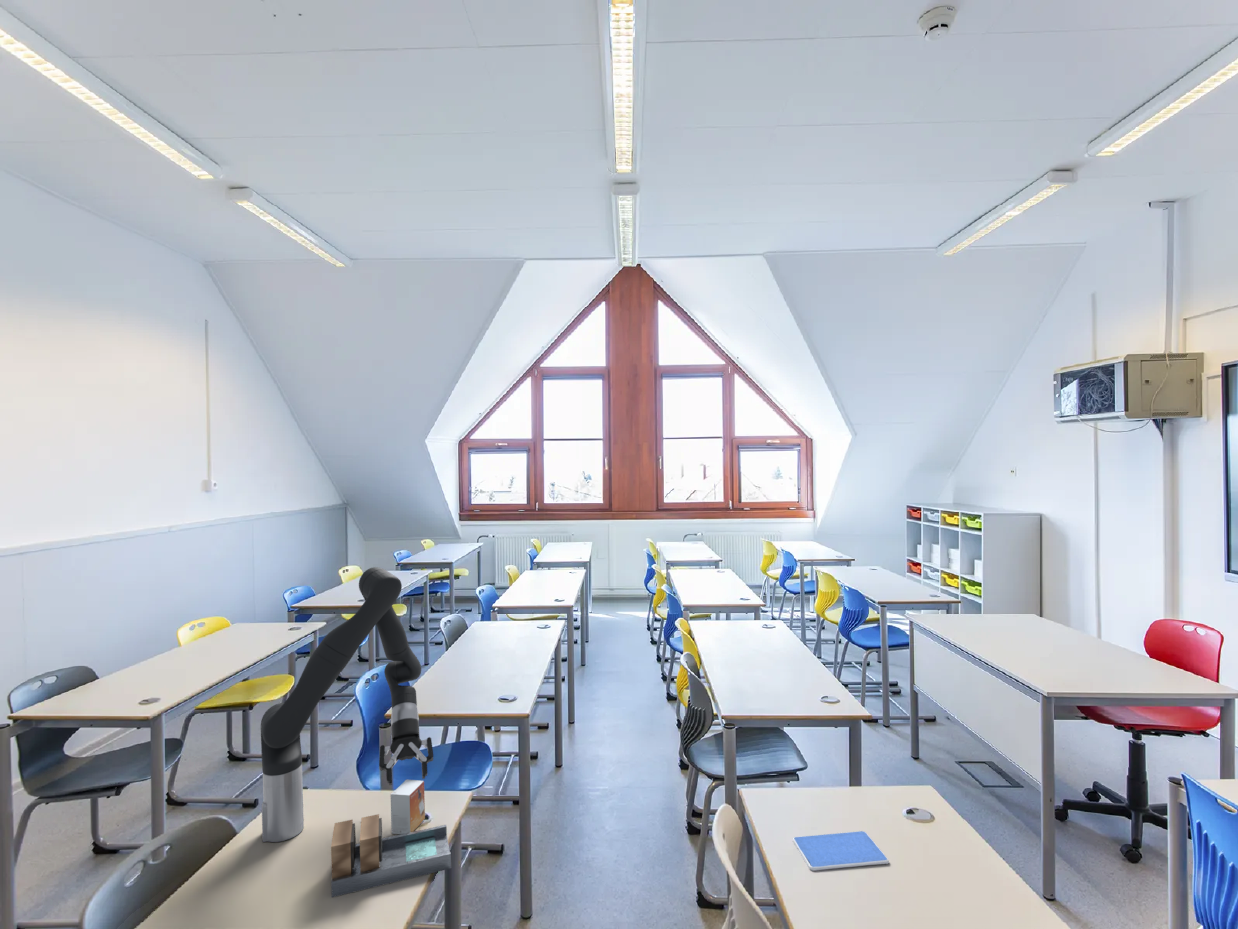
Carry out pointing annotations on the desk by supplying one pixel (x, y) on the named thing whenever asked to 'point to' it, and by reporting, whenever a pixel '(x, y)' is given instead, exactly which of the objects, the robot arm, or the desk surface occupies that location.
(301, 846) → the desk surface
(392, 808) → the small box
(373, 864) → the twin brown uprights
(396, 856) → the grey shallow tray
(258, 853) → the desk surface
